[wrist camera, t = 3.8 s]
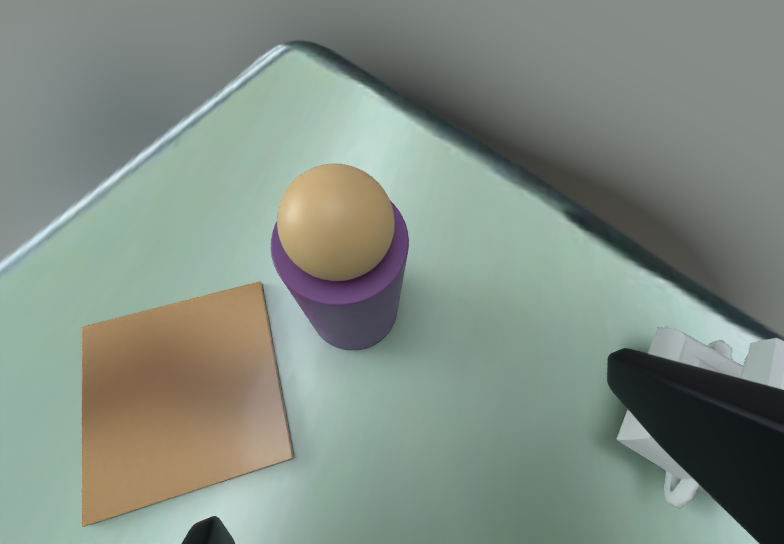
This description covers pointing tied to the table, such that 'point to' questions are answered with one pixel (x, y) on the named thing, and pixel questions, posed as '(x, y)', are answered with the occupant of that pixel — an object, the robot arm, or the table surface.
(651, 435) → the robot arm
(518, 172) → the table surface
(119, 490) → the cork coaster
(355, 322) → the peg doll toy
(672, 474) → the stamp
